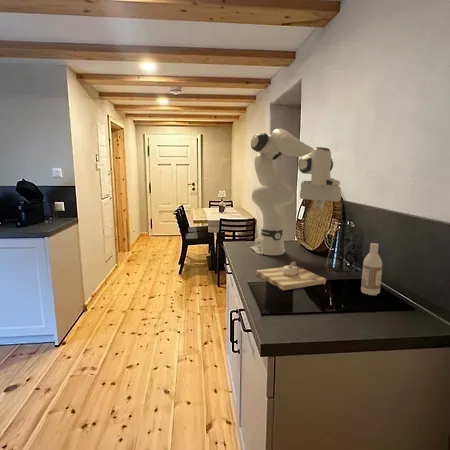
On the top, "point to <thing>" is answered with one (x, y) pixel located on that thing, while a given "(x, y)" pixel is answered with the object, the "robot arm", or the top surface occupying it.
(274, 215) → the robot arm
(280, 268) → the wooden cutting board
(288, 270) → the brown and cream block
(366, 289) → the bath foam
